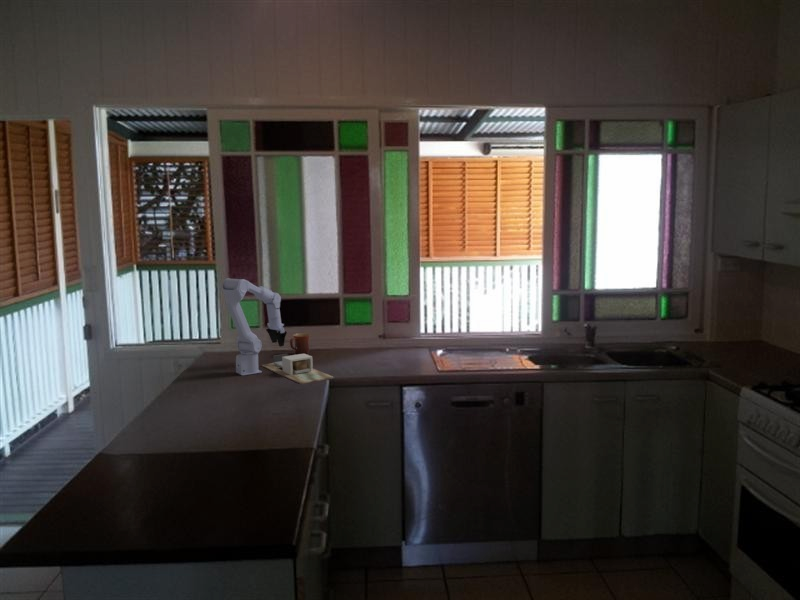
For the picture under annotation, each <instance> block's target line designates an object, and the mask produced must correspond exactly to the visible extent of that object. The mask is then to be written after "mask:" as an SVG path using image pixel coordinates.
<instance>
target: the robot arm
mask: <svg viewBox="0 0 800 600" xmlns="http://www.w3.org/2000/svg"><path fill="white" fill-rule="evenodd" d="M221 291H222V293H223V295H224V302H225V306H226V308H227V311H228V312H229V315H230V318H231V320H232V323H233V325H234V326H235V327H234V328H235V330H236V332H237V335H238V336H237V337H236V339H235V341H236V344H237V346H236V347H237V349H238V351H239V352H240V353H239V354H236V357H235V373H237V374H238V375H241V376H249V375H254V374H261V373H263V371H262V370H261V369H259V353H260V352H261V350H262V345H263V344H262V343H263V342H262V340H260V339H259V338H258V336H257V334H256V333H254V332H252V330H251V328H250V325H249V323H248V321H247V318H246V316H245V315H246V314H244V310H243V308H242V306H241V304H240V303H241V301H242V300H243V299H244V297H245V295H246V293H247V292H249V293H251V294H253V295H254V298H256V299H258V300H260V301H263V304H266V311H267V319H268V322H267V323H266V324H267V328H266V329H265V330H266V333H267V334H268V335H269V337H270V338H269V339H270V340H271V343H272V344H274V343H275V344H276V343H277V344H278V346H279V347H284V346H285V341H286V336H287V333H288V332H287V331H286V330H285V328H284V326H285V323H282V317H281V310H280V308H281V302H282V297H281V295H280V294H279V293H278V292H273V291H272V289H268V288H266V286H265V285H261V286H257V285H255V284H253V283H252V282H250V281H249V280H246V279H245V278H242V279H241V278H240V279H239V278H231V277H230V278H229V277H227V278H225V279H224V280H223V281H222V286H221Z"/></svg>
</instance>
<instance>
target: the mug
mask: <svg viewBox="0 0 800 600" xmlns="http://www.w3.org/2000/svg"><path fill="white" fill-rule="evenodd" d="M310 337H311V333H307V332H304V333H302V332H299V333H294V334H292V337H291V338H290V339H289V346H290V348H291V349H292V350H294V355H298V354H307V355H309V353H310ZM293 341H294V343H293Z"/></svg>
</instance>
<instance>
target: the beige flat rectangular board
mask: <svg viewBox="0 0 800 600" xmlns="http://www.w3.org/2000/svg"><path fill="white" fill-rule="evenodd" d="M261 367H263V368H265V369H267V370H269V371H271V372H274V373H275V374H278V375H279V376H282V377H284V378H286V379H289V380H290V381H293V382H295V383H297V384H299V385H303V384H308V383H315V382H319V381H320V382H321V381H324V380H325V381H326V380H331V379H334V376H333V375H330V374H328V373H325V372H323V371H320V370H318V369H316V368H313V371H310V372H304V373H298V374H295V373H293V375H290V374H287V373H285V372H283V368H281V367H279V366H277V365H275V364H273V362H272V363H266V364H261Z"/></svg>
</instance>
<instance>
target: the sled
mask: <svg viewBox="0 0 800 600" xmlns="http://www.w3.org/2000/svg"><path fill="white" fill-rule="evenodd" d="M284 356H289V353H282V354H274V355H272V360H273V361H272V363H273V364H275V365H277V366H279V367H281V368H283V367H282V357H284ZM304 372H310V369H308V368H307V369H305V370H299V371H296V370H294V369H293V373H295V374H298V373H304Z"/></svg>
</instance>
